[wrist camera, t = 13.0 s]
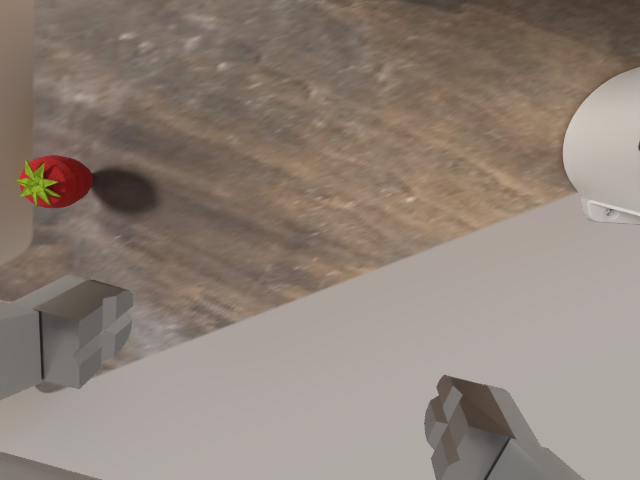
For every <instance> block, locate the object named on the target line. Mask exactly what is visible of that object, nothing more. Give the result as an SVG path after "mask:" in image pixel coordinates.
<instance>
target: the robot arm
mask: <svg viewBox="0 0 640 480" xmlns="http://www.w3.org/2000/svg"><path fill="white" fill-rule="evenodd" d="M563 162H564V167H565V170H566V173H567V176H568V178H569V180H570V181H571V183H572V184H573V186H574V187H575V188H576V190H577V191H578V193H579V194H580V196H581V203H582V209H583V213H584V216H585V217H586V218H587V219H588V220H591V221H595V222H606V223H622V224H638V225H640V67H637V68H634V69H631V70H629V71H626V72H623V73H621V74H619V75H617V76H615V77H613V78H611V79H610V80H608V81H607V82H605V83H604V84H602V85H601V86H600V87H598V88H597V89H596V90H595V91H594V92H593V93H591V94H590V95H589V96H588V98H587V99H586V100H585V101H584V102H583V103H582V104H581V106H580V107H579V108H578V110H577V111H576V113H575V115H574V116H573V118H572V120H571V122H570V124H569V127H568V129H567V132H566V135H565V139H564V145H563ZM609 209H610V212H609V214H606V213H607V211H608V210H609ZM132 306H133V294H132V293H131V292H130V291H129V290H127V289H123V288H120V287H116V286H113V285H109V284H106V283H102V282H99V281H96V280H91V279H89V278H85V277H81V276H77V275H66V276H64V277H62V278H60V279H58V280H56V281H54V282H52V283H50V284H48V285H46V286H44V287H42V288H40V289H38V290H36V291H34V292H32V293H30V294H28V295H26V296H24V297H22V298H20V299H18V300H16V301H14V302H12V303H10V304H9V303H5V302H0V400H2V399H5V398H7V397H9V396H11V395H14V394H16V393H18V392H21V391H23V390H25V389H28V388H30V387H32V386H34V385H37V384H39V383H41V382H42V380H43V381H47V382H51V383H56V384H60V385H64V386H68V387H72V388H77V389H80V388H81V387H82V386H83V385H84V384H85V383H86V382H87V381H89V380H90V379H91V378H92V377H93V376H94V375H95V374H96V373H97V372H98V371H99V370H100V369H101V361H103V360H106V359H109V358H112V357H114V356H115V355H116V354H117V353H118V352H119V351H120V350H121V349H122V348H123V346H124V345H125V343H126V341H127V340H128V338H129V335H130V331H131V325H132V320H131V318H130V317H129V315H128V313H127V311H128V310H129V309H130V308H131V307H132ZM437 391H438V394H439V396H437V397H436V398H434V399H432V400H431V401H430V403H429V405H428V408H427V410H426V415H425V422H424V424H425V435H426V439H427V442H428V443H429V444H430V445H431V447H432V448H433V449H434V450H435V451H434V453H433V455H432V457H431V460H432V465H433V469H434V473H435V477H436V480H584V479H583V478H582V477H581V476H580V475H578V474H577V473H576V472H575V471H574V470H573V469H571V468H570V467H569V466H568V465H566V463H565V462H563V461H562V460H561V459H560V458H559V457H557V456H556V455H555V454H554V453H553V452H552V451H550V450H549V449H548V448H545V447H541V445H540V444H539V442H538V440H537V439H536V437H535V435H534V434H533V432H532V430H531V429H530V427H529V425H528V424H527V422H526V420H525V419H524V417H523V415H522V414H521V412H520V410H519V409H518V407H517V405H516V404H515V402H514V400H513V399H512V397H511V395H510V394H509V393H508V392H507V391H506V390H504V389H502V388H498V387H493V386H489V385H485V384H484V385H483V384H479V383H474V382H471V381H467V380H463V379H459V378H455V377H451V376H447V375H444V376H443V377H442V378H441V379H440V380H439V383H438V385H437ZM0 480H101V479H98V478H94V477H90V476H87V475H83V474H80V473H76V472H72V471H69V470H65V469H62V468H58V467H54V466H51V465H47V464H43V463H40V462H36V461H32V460H29V459H25V458H22V457H18V456H14V455H11V454H7V453H4V452H0Z"/></svg>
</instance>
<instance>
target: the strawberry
mask: <svg viewBox="0 0 640 480" xmlns="http://www.w3.org/2000/svg"><path fill="white" fill-rule="evenodd" d="M93 179H94V177H93V175H92V173H91V171H90V170H89V169H88V168H87V167H86V166H84V165H83V164H82V163H80V162H79V161H77V160H75V159H71V158H66V157H62V156H57V155H51V156H45V157H41V158H38V159H35V160H33V161H31V162H30V163H28V161H27V159H26V158H25V168H24V169H23V171H22V173H21V176H20V179H19V180H14V181H15V182H17V183H19V184H20V187H21V190H22V193H21V195H20V196H19V197H22V196H25V197H27V198H28V199H29V200H30V201H31V202H32V203H34V204H36V206H40V207H44V208H61V207H66V206H69V205H71V204H73V203H75V202H76V201H78V200H80V199H81V198H83V197H84V196H85V195H86V194H87V193H88V191H89V190H90V188H91V186H92V184H93Z"/></svg>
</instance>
